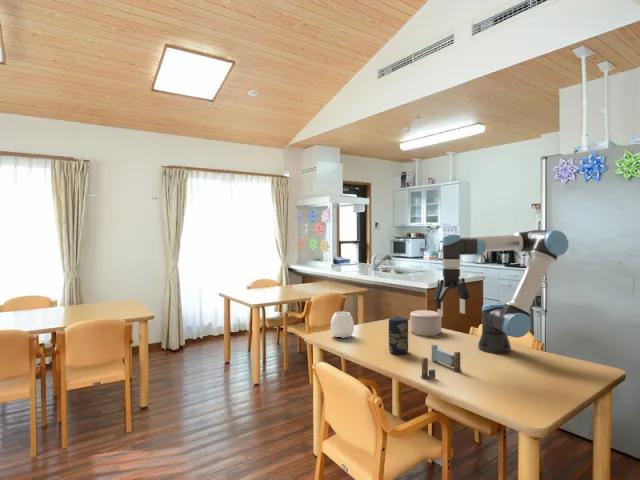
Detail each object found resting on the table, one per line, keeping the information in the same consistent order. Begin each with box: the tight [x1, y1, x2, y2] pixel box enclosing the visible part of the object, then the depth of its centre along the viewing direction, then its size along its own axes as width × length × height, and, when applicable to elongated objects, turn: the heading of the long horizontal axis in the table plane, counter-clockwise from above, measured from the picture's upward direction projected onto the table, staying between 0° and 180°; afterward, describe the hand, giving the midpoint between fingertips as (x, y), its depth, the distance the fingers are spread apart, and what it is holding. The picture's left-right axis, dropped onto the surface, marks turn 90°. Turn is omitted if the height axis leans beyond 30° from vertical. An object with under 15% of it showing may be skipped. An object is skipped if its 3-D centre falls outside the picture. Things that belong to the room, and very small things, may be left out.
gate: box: [431, 343, 454, 368], centre depth 182 cm, size 13×2×8 cm, turn 25°
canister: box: [387, 315, 409, 355], centre depth 202 cm, size 10×10×18 cm
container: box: [409, 309, 442, 337], centre depth 240 cm, size 18×18×12 cm
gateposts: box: [420, 351, 462, 380], centre depth 170 cm, size 21×4×8 cm, turn 115°
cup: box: [330, 311, 355, 339], centre depth 233 cm, size 13×13×14 cm
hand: (451, 314), depth 188 cm, fingers open, 12 cm apart
